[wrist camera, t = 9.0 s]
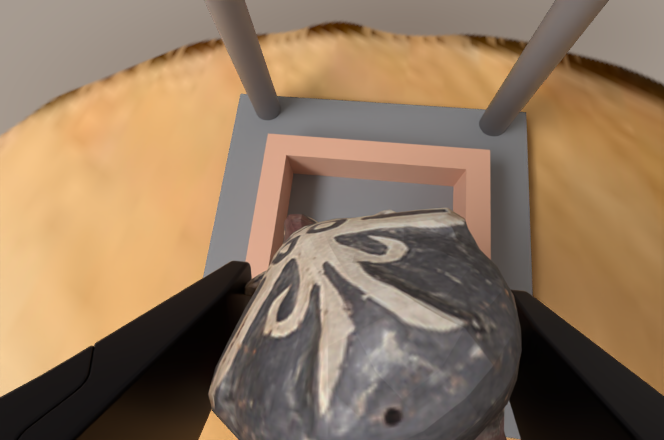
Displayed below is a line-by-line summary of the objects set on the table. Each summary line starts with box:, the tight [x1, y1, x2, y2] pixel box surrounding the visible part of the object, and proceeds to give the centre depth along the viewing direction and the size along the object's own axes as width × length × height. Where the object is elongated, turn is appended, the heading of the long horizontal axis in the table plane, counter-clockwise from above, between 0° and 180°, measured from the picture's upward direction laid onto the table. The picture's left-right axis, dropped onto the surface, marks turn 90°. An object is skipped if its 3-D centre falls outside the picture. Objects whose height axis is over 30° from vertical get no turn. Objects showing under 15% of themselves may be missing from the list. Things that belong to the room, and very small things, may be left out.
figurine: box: [208, 208, 522, 440], centre depth 9 cm, size 7×7×12 cm
